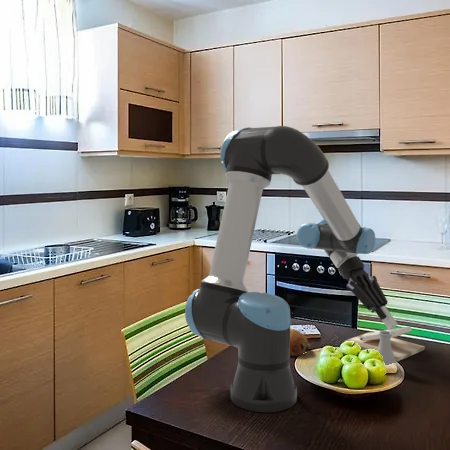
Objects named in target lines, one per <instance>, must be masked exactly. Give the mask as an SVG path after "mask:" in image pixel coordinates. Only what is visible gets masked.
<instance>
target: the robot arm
mask: <svg viewBox="0 0 450 450" xmlns="http://www.w3.org/2000/svg"><path fill="white" fill-rule="evenodd" d="M219 154H220V155H219V156H220V157H219V158H220V160H221V166H222V169H224V170H225V174H224V175H225V178H226V179H227V181H228V183H229V184H228V188H227V193H226V198H225V202H224V207H223V212H222V216H221V219H220V220H221V221H220V225H219V229H218V233H217V238H216V242H215V247H214V252H213V256H212V261H211V265H210V270H209V274H208V275H207V276H206V277H204V279H202V280H201V282H200V287H199V288H198V289H195V290H194V291H192V293H191V295H189V296H188V298H187V301H186V303H185V309H184V311H185V312H184V316H185V321H186V324H187V326H188V327H189V330H190V332H192V333H193V334H194V335H195V336H197V337H201V338H203V340H206V341H213V342H216V343H220V344H224V345H227V346H231V347H234V348H237V350H238V351H237V353H238V354H237V358H238V362H237V367H236V370H235V374H234V378H233V381H232V383H231V385H230V400H231V402H232V403H233V404H234V405H235V406H237V407H239V408H242V409H243V410H247V411H251V412H256V413H277V412H281V411H285V410H288V409H291V408H292V407H293V406H294V405H296V403H297V401H298V398H297V397H298V390H297V385H296V384H295V382H294V377H293V372H292V370H291V367H290V365H291V364H290V362H291V360H290V359H291V358H290V357H291V356H290V329H291V325H292V320H291V309H290V305H289V304H288V302H287V301H286V300H285V299H284V298H282V297H280V296H279V295H278V296H277V295H276V294H272V293H269V292H268V293H267V292H259V291H250V292H249V290H248V289H247V287H246V285H245V284H244V281H245V276H246V270H247V266H248V262H249V258H250V257H249V256H250V251H251V247H252V243H253V242H252V241H253V239H254V238H253V237H254V234H255V233H254V232H255V229H256V225H257V224H256V223H257V219H258V214H259V208H260V205H261V201H262V200H261V199H262V195H263V190H265V189H266V188H268V187H269V186H270V185H271V181H272V177H273V175H284V176H288V177H290V178H292V180H293V181H294V183H295V184H296V185H298V186H301V187H302V188H303V189H304V191H305V193H306V194H307V196H308V197H309V198H310V201H311V202H312V203H313V205H314V206H315V208H316V209H317V210H318V212H319V213H320V215H321V217H322V218H323V219H321V220H319V221H318V222H316V223H314V222H306V223H303V224H301V225H300V226H299V228H298V229H297V231H296V240H297V243H298V244H299V245H300V246H301V247H303V248H306V249H310V250H312V249H315V250H324V252H325V253H326V255H327V256H328V258H329V259H330V260H331V261H332V263H333V265H334V266H335V268H337V270H338V271H337V272H339V274H340V275H341V276H342V278H343V279H344V280H347V282H348V283H347V284H346V286H345V287H346V288H347V290H349V291H350V292H351V293H352V294H353V296H355V297H356V298H357V299H358V300H359V302H361V303H362V305H363V306H364V308H366V309H367V311H370V312H371V313H374V312H375V313H376V315H377V316H378V317H379V319H380V320H381V321H382V323H383V324H384V325H385V327H386V329H387V330H391V329H395V328H396V327H397V326H398V325H399V324H398V322H397V320H396V319H395V318H394V317H393V316H392V314H391V312H390V311H389V309H388V308H387V304H388V299H387V297H386V296H385V294H384V292H383V290H382V288H381V286H380V284H379V282H378V278H377V277H376V275H373V276H370V275H369V273H368V272H366V270H364V269H365V264H364V262H363V261H362V259H361V258H360V256H358V254H359V255H361V254H363V255H369V254H370V253H372V252H373V250H374V248H375V244H376V233H375V231H374V230H373V229H372V228H369V227H366V226H364V227H362V226H361V224H360V223H359V221H358V220H357V217H356V216H355V214H354V213H353V210H352V209H351V208H350V206H349V204H348V202H347V201H346V199H345V197H344V195H343V194H342V191H341V190H340V188H339V187H338V184H337V183H336V181H335V180H334V177H333V176H332V174H331V173H330V170H329V168H330V163H329V160H328V158H327V157H326V155H325V154H324V152H323V151H322V150H321V148H320V146H318V144H316V142H315V141H313V140H312V139H311V138H310V137H309V136H307V135H306V134H305V133H303V132H301V131H300V130H298V129H295V128H294V127H290V126H286V125H275V126H265V127H262V126H261V127H250V126H249V127H243V128H240V129H235V130H233V131H231V132H229V133H228V135H227V136H226V137H225V138H224V140H223V142H222V145H221V148H220V153H219Z"/></svg>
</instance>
